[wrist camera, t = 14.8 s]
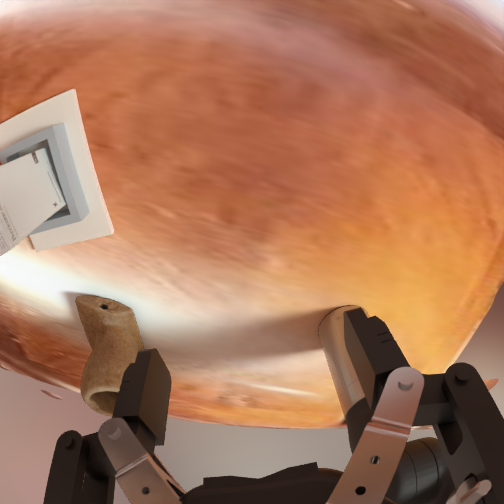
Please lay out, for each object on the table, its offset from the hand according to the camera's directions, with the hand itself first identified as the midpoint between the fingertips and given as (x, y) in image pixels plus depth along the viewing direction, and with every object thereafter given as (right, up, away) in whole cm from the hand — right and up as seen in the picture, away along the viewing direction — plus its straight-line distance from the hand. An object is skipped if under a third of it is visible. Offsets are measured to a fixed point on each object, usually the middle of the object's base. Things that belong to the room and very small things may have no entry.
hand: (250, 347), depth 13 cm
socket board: (-27, +14, +23) cm, 38 cm away
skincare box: (-27, +14, +22) cm, 38 cm away
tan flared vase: (-22, -9, +36) cm, 43 cm away
